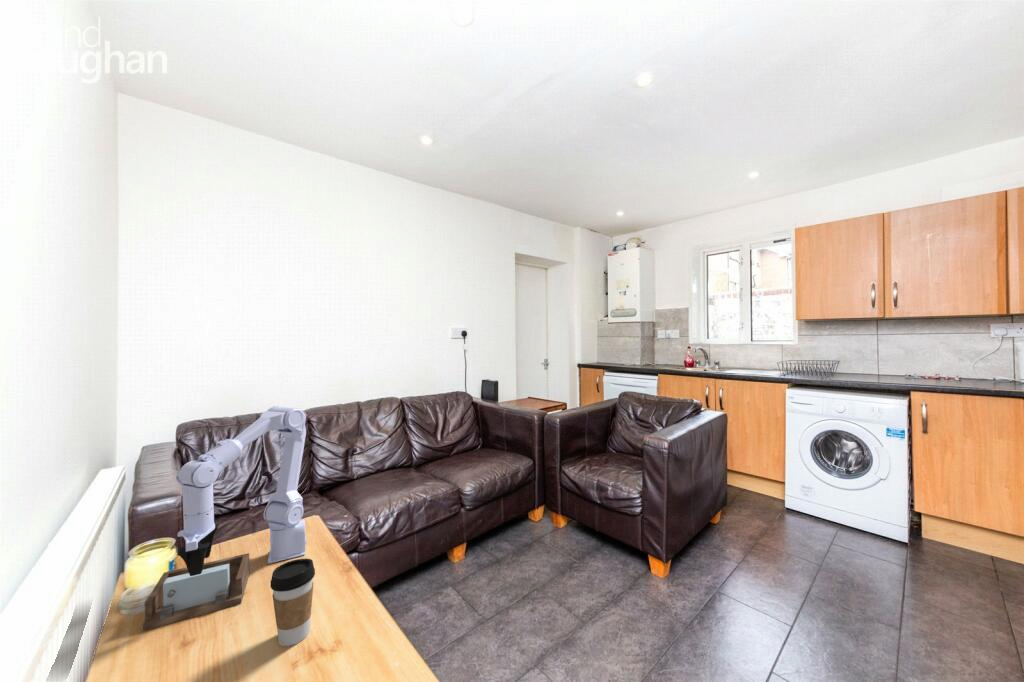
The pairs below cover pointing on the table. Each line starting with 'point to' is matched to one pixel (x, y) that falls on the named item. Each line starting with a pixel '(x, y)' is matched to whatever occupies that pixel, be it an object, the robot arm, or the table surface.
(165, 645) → the table surface
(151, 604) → the cabinet
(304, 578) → the coffee cup
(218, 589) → the door
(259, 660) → the table surface
